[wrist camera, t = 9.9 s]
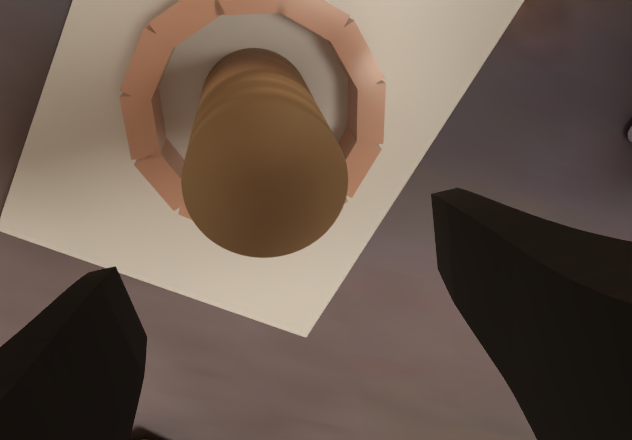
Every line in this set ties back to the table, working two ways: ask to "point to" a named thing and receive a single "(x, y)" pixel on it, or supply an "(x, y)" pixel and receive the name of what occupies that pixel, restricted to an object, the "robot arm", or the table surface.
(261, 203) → the wooden peg
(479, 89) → the table surface
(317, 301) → the socket board
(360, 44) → the collar
